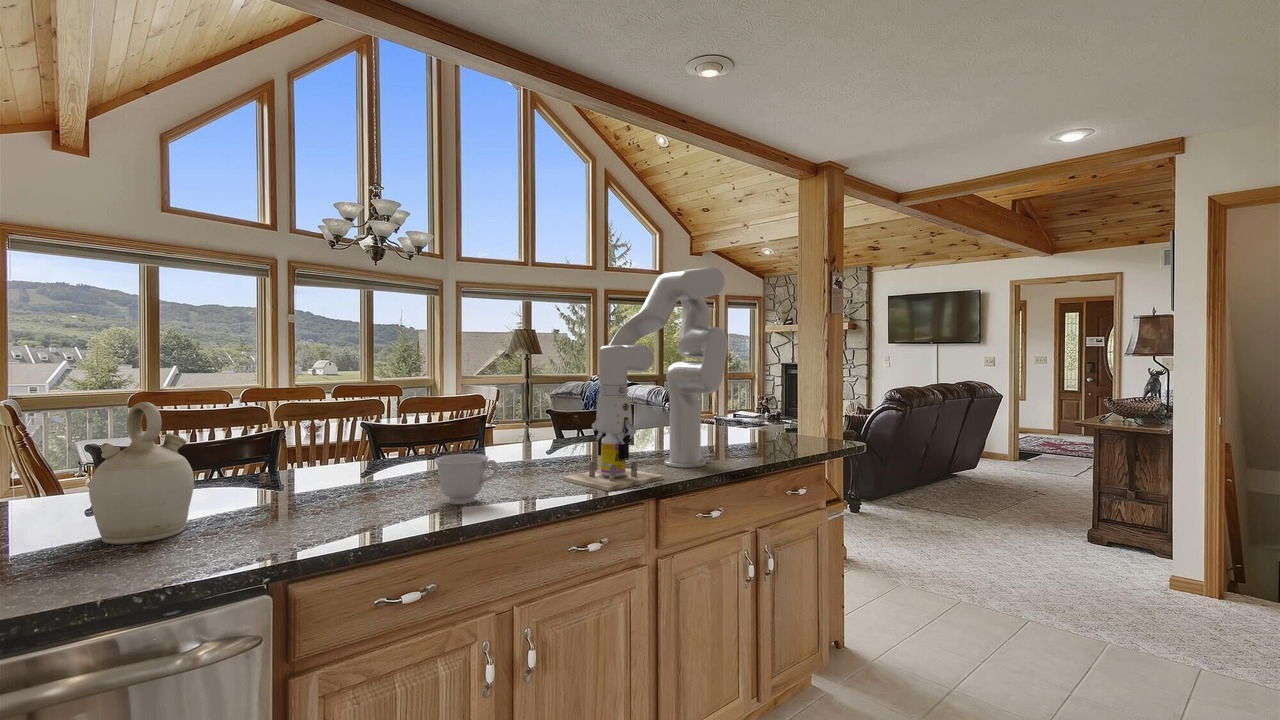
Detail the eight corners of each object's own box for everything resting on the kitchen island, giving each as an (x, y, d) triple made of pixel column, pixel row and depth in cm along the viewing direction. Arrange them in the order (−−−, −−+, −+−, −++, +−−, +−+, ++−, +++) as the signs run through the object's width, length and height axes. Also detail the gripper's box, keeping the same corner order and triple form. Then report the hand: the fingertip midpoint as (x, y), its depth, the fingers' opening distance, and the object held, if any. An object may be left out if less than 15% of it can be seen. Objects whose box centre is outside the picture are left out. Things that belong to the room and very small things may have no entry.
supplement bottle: (615, 478, 162) (615, 429, 162) (595, 475, 166) (596, 427, 166) (630, 474, 167) (630, 427, 167) (611, 472, 171) (611, 425, 171)
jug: (181, 519, 127) (179, 397, 126) (205, 533, 117) (204, 401, 117) (81, 536, 115) (80, 402, 115) (99, 553, 105) (98, 407, 105)
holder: (617, 470, 180) (617, 453, 179) (662, 479, 167) (662, 460, 167) (562, 480, 165) (562, 461, 165) (608, 491, 153) (608, 471, 153)
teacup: (486, 510, 134) (486, 464, 134) (423, 506, 137) (423, 461, 137) (508, 497, 146) (508, 455, 146) (450, 494, 149) (450, 452, 149)
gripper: (646, 392, 162) (646, 459, 163) (601, 389, 175) (601, 451, 175) (625, 393, 157) (625, 462, 157) (581, 390, 169) (581, 454, 170)
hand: (613, 456), depth 166 cm, fingers open, 7 cm apart
